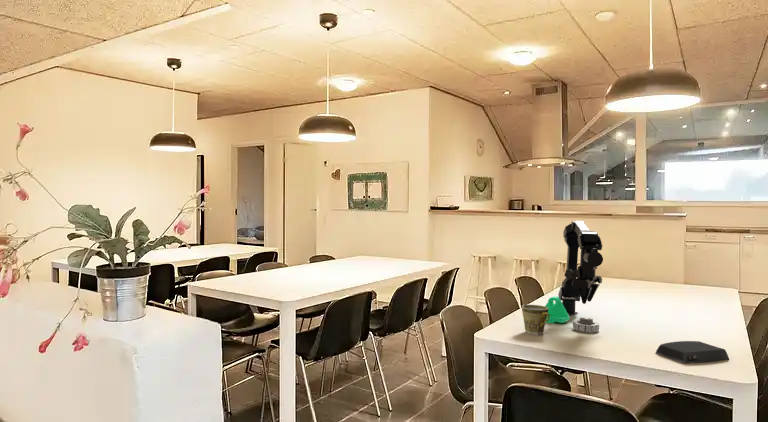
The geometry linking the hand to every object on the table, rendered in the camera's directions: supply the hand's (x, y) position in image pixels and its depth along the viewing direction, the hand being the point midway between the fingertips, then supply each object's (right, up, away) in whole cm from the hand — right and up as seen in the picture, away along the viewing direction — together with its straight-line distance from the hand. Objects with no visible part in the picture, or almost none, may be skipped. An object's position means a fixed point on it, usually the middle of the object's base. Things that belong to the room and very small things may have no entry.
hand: (586, 302), depth 208 cm
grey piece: (0, -11, 0) cm, 11 cm away
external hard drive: (+22, -13, -33) cm, 42 cm away
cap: (0, -11, 0) cm, 11 cm away
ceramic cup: (-22, -11, -8) cm, 26 cm away
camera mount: (-9, -11, +15) cm, 20 cm away
